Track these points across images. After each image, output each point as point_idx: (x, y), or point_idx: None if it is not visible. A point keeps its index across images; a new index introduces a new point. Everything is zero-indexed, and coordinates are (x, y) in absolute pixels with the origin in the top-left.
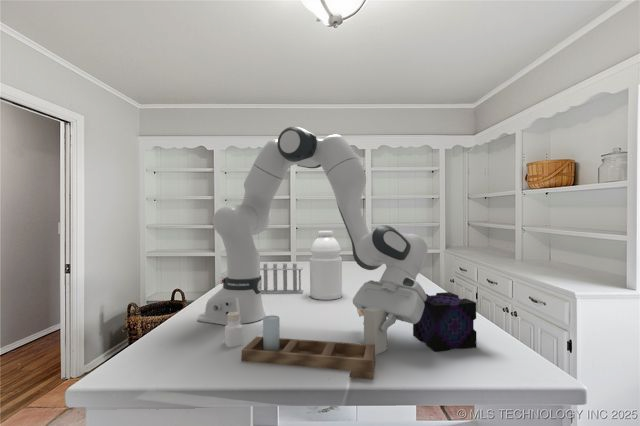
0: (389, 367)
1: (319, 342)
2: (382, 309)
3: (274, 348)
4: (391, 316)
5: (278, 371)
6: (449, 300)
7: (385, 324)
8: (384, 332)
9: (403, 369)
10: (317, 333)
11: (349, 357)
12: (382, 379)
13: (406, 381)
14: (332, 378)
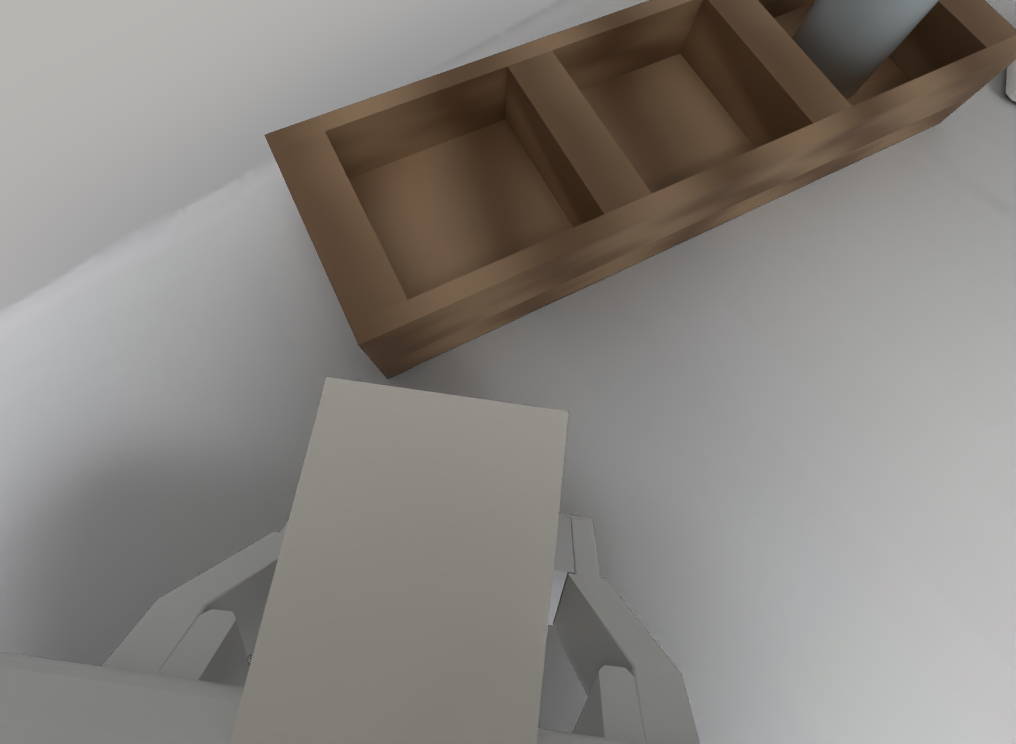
0: (283, 361)
1: (696, 174)
2: (262, 635)
3: (812, 7)
4: (144, 630)
5: None
6: None
7: (284, 532)
8: None
9: (202, 386)
10: (986, 536)
11: (402, 101)
12: (267, 230)
13: (151, 277)
14: None
